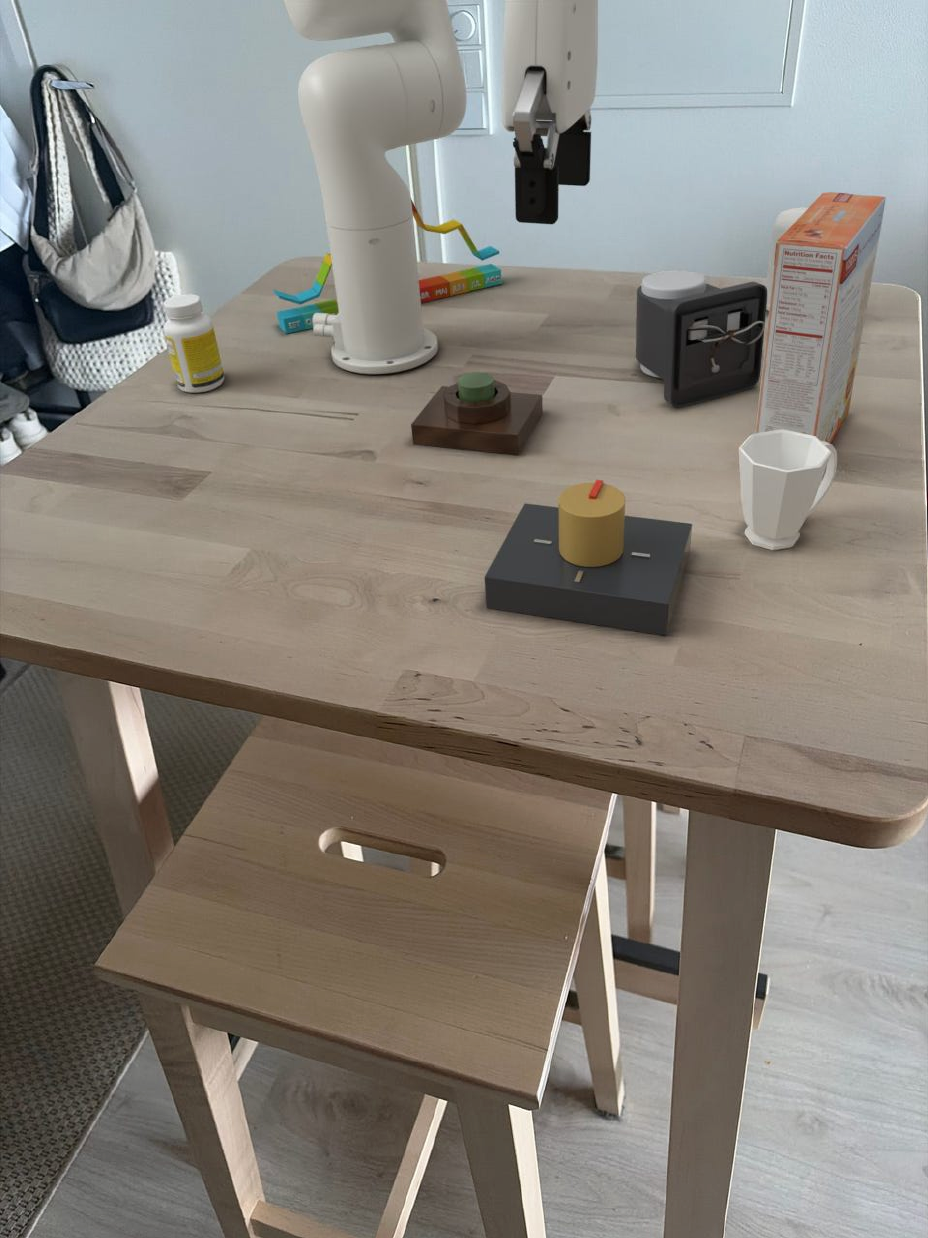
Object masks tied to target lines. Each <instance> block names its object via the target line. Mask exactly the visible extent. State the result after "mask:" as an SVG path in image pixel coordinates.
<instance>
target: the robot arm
mask: <svg viewBox="0 0 928 1238" xmlns="http://www.w3.org/2000/svg"><path fill="white" fill-rule="evenodd" d="M283 3H284V6H285V9H286V12H287V14H288V18H289V19H290V22H291V23H292V25H293V27H294V29H295V30H296V31H297V33H298V34H299V35H300V36H302V37H303V38H305V39H307V40H310V41H315V42H327V41H337V40H338V41H339V40H347V39H353V38H360V37H365V36H366V37H367V36H372V35H378V34H379V35H380V34H386V33H388V34H390V36H391V37H392V39H393V41H394V42H391V43H390V42H389V43H384V44H374V45H367V46H361V47H356V48H349V49H344V50H338V51H335V52H331V53H328V54H326V55H323V56H320V57H318V58H316V59H315V60H313V61H312V62H311V63H310V64H309V65H307V67H306V68H305V69H304V71H303V72H302V74H301V76H300V78H299V83H298V87H297V99H298V107H299V111H300V112H299V113H300V115H301V119H302V123H303V126H304V130H305V133H306V136H307V139H308V142H309V145H310V150H311V152H312V156H313V161H314V164H315V168H316V173H317V178H318V183H319V187H320V194H321V200H322V206H323V213H324V220H325V226H326V232H327V233H326V234H327V240H328V245H329V254H331V261H332V267H331V269H332V275H333V282H334V288H335V296H336V299H337V303H338V310H339V313H338V314H337V315H331V314H327V313H315V314H314V316H313V327H314V328H312V330H313V334H314V336H316V337H331V338H332V340H334V343H333V344H332V346H331V349H330V352H331V359H332V362H333V364H335V365H336V366H337V367H339V368H341V369H342V370H345V371H348V372H350V373H356V374H361V375H362V374H363V375H386V374H387V375H388V374H395V373H401V372H405V371H408V370H412V369H414V368H417V367H419V366H420V367H421V365H424V364H425V363H427V362H429V361H430V360H432V359H433V358H434V357H435V356H436V355H437V352H438V349H439V343H438V338H437V336H436V335H435V333H433V331H430V330H429V329H427V328H426V327H425V328H424V323H423V314H422V312H423V311H422V303H421V300H420V289H419V280H420V279H419V269H418V268H419V267H418V258H417V248H416V247H417V246H416V236H415V235H416V234H415V225H414V224H415V223H414V217H413V213H412V204H411V199H412V197H411V194H410V190H409V188H408V186H407V184H406V182H405V180H404V178H402V177H401V175H400V174H399V172H397V171H396V169H394V167H393V166H392V165H391V164H390V161H388V160H387V158H386V152H388V151H391V150H395V149H398V148H402V147H407V146H411V145H415V144H420V143H426V142H430V141H434V140H440V139H442V138H446V137H448V136H449V135H451V134H453V133H454V132H456V131H457V130H458V129H459V127H460V126H461V125H462V123H463V121H464V119H465V116H466V115H465V114H466V110H467V88H466V87H467V86H466V79H465V74H464V70H463V69H464V68H463V65H462V61H461V57H460V52H459V48H458V44H457V40H456V36H455V31H454V27H453V23H452V19H451V14H450V11H449V6H448V3H447V0H283ZM502 43H503V44H502V46H503V47H502V90H501V91H502V97H501V98H502V100H501V102H502V103H501V106H502V107H501V120H502V121H501V122H502V125H503V127H504V129H505V131H507V132H510V133H511V132H512V133H513V132H514V136H515V137H514V138H513V141H512V147H513V148H514V154H513V166H514V201H515V203H514V205H515V207H514V210H515V211H514V212H515V220H516V221H517V222H518V223H521V224H522V223H523V224H539V225H554V224H556V222H557V221H558V220H559V193H560V191H559V186H578V187H586V186H587V185H589V183H590V181H591V156H592V155H591V153H592V152H591V151H592V131H590V130H591V128H592V127H591V126H592V113H591V108H592V106H593V103H594V102H595V98H596V88H597V77H598V55H599V53H598V52H599V51H598V49H599V0H505V5H504V17H503V42H502ZM542 137H546V142H545V144H544V139H543V138H542Z"/></svg>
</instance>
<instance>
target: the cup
mask: <svg viewBox="0 0 928 1238" xmlns="http://www.w3.org/2000/svg"><path fill="white" fill-rule="evenodd" d="M738 464H739V467H738V468H739V479H740V480H739V481H740V482H739V483H740V485H739V487H740V501H741V508H742V513H743V519H744V523H745V524H746V525H747V527H746V528H745V530H744V535H745V537H746V538H747V539H748V541H749V542H750V543H751V545H752V546H756V547H759V548H763V549H767V550H771V551H777V550H783V549H789V548H793V547H794V545H795V544H796V542H797V541H798V540H799V538H800V534H801V532H800V529H801V528H802V527H803V525H804V523H805V521H806V519H807V518H808V517H809V516H810V515H811V514H812V512H813V511H814V510H815V509H816V508H817V507H818V505H819V504H820V503H821V502H822V500H824V498H825V496H826V495H827V493H828V492H829V490H830V488H831V487H832V484H833V482H834V480H835V477H836V474H837V467H838V466H837V465H838V453H837V450H836V448H835V446H834V445H833V444H832V443H831V444H829V443H827V442H825V441H820V440H819V439H818V438H817V437H816V436H812V435H807V434H802V433H798V432H793V431H788V430H784V429H781V430H774V431H768V432H761V433H751V434H750V435H749V436H748V437H747V438H746V439H745V440H744V442H742V444H741V445H740V446H739V447H738Z"/></svg>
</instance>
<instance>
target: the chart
mask: <svg viewBox="0 0 928 1238" xmlns="http://www.w3.org/2000/svg"><path fill="white" fill-rule="evenodd" d="M411 204H412V213H413V219H414V220H415V222H416V224H417V226H418V227H419V228H421V230H424V231H426V232H430V233H435V234H441V235H446V234H449V233H452V232H453V231H456V230H458V232H459V233H460V235H461V237H462V238H463V240H464V242H465V243H466V246H467V247H468V249H469V251H470V252H471V254H472V255H473V257H475V258H477V259H478V260H480V261H482V262H483V261H485V260H488V259H491V258H493V257H494V256H497V255H500V250H499V249H497V248H495V247H494V246H491V245H488V246H486V247H484V248H482V249H479V250H478V248H477V247H476V245H475V244H474V242H473V241H472V240H473V239H472V238H471V237H470V235H469V234H468V232H467V230H466V228H465V227H464V225H463V223H461V222H459V221H458V220H456V219H454V218H453V219H451V220H449V221H446V222H444V223H441V224H439V225H430V224H425V223H424V221H423V219H422V216H421V215H420V213H419V211H418V209H417V208H416V206H415V203H414V201H413V200H412V198H411ZM331 269H332V261H331V254H330V253H328V252H326V253H325V255H324V258H323V261H322V262H321V265H320V267H319V271H318V273H317V275H316V278H315V280H314V283H313V285H312V287H311V288H307V289H306V290H304V291H302V292H299V293H297V294H290V293H286V292H284V291H279V290H276V289H272V292H273V293H274V295H275V296H276V297H277V298H278V299H280V300H283V301H287V302H290V303H293V304H296V305H300V306H296V307H292V308H288V309H283V310H279V311H276V316H277V320H278V321H277V322H278V326H279V328H280V329H281V330H282V331H283V332H284V333H285V334H286V335H287V334H291V333H296V332H300V331H301V332H302V331H304V330H309V329H314V327H313V316H314V314H315V313H327V314H331V315H337V314H338V313H339V310H338V303H337V298H333V299H328V300H324V301H319V302H315V303H311V304H306V303H307V302H310V301H312V300H315V299H317V298H319V297H320V296H321V293H322V291H323V289H324V287H325V284H326V282H327V279H328V277H329V274H330V272H331ZM498 285H502V269H500V268H499V267H498V266H496V265H495V264H493V263H488V264H483V265H478V266H475V267H471V268H466V269H461V270H457V271H454V272H450V273H445V274H440V275H436V276H431V277H427V278H421V279H419V289H420V300H421V304H422V303H426V302H430V301H435V300H439V299H443V298H444V299H445V298H447V297H448V298H449V297H452V296H456V295H461V294H465V293H468V292H472V291H477V290H482V289H485V288H490V287H493V286H498ZM303 304H306V305H303ZM301 305H302V306H301Z"/></svg>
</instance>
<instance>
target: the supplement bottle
mask: <svg viewBox="0 0 928 1238" xmlns="http://www.w3.org/2000/svg"><path fill="white" fill-rule="evenodd" d="M163 307H164V312H165V316H166V317H167V318H168V320H166V321H165V322H164V324H163V328H162V329H163V334H164V339H165V342H166V346H167V349H168V354H169V357H170V358H169V359H170V361H171V366H172V370H173V373H174V377H175V381H176V385H177V387H178V389H179V390H180V391H182V392H185V393H192V394H197V393H204V392H209V391H213V390H215V389H217V388H218V387H220V386H221V385H222V384H223V383H224V381H225V373H224V368H223V363H222V359H221V355H220V350H219V346H218V341H217V337H216V332H215V329H214V328H215V327H214V325H213V321H212V318H210V316H208V315H206V314H204V313H202V312H203V310H204V309H203V304H202V301H201V297H200V296H199V295H197V294H192V293H185V294H177V295H174V296H171V297H168V298H166V299H165V300H164V302H163Z"/></svg>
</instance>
